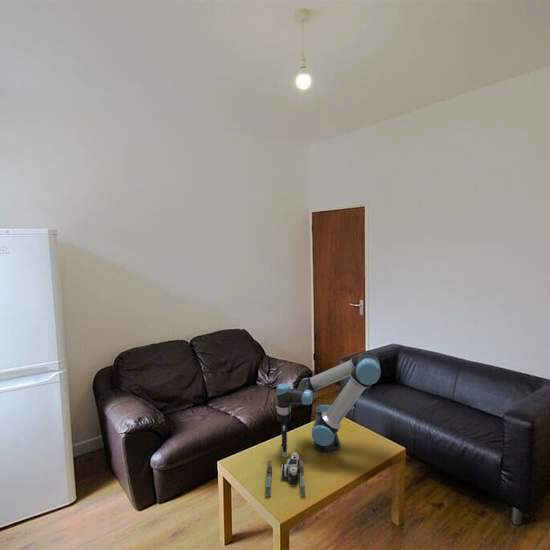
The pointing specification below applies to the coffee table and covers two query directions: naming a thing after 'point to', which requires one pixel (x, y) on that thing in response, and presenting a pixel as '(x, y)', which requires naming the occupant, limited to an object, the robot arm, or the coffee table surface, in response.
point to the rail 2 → (301, 478)
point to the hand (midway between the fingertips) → (284, 449)
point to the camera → (291, 469)
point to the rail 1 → (269, 479)
